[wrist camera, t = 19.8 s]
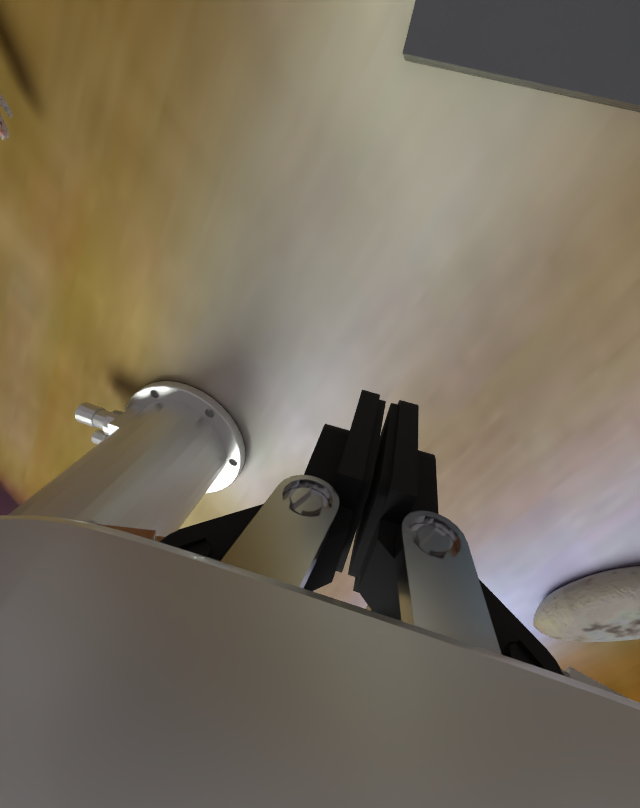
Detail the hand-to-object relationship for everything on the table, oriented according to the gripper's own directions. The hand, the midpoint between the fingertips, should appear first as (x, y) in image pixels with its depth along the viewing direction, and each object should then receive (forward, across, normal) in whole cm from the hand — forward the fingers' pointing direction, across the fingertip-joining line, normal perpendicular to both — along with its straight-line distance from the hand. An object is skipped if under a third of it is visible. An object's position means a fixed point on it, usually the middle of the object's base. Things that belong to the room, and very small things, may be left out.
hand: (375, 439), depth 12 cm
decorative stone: (+18, -25, +20) cm, 37 cm away
